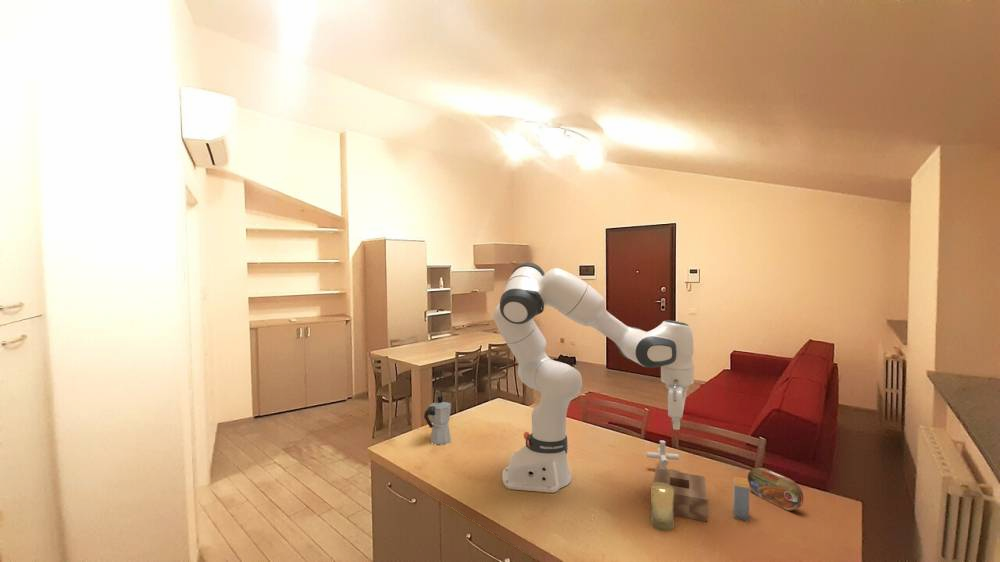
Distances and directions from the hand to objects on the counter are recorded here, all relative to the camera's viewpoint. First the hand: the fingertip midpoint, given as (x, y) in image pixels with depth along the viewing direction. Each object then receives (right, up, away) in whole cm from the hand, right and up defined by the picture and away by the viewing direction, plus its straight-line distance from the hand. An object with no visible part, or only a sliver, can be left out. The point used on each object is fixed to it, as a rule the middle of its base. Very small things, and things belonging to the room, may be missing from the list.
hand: (677, 423), depth 124 cm
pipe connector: (+3, -23, +20) cm, 31 cm away
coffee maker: (-76, -23, +46) cm, 92 cm away
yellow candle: (-8, -24, -10) cm, 27 cm away
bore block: (0, -23, 0) cm, 23 cm away
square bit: (+15, -23, -7) cm, 28 cm away
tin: (+28, -23, 0) cm, 37 cm away
